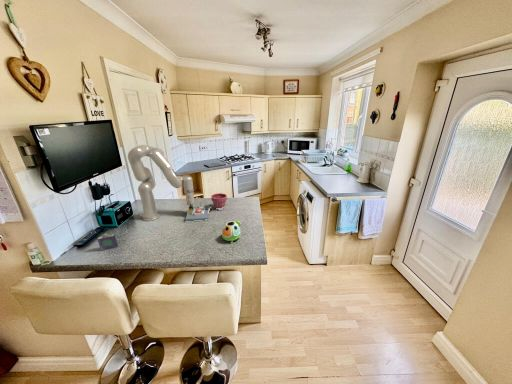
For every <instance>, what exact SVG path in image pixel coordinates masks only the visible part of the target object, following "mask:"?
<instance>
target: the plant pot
mask: <svg viewBox="0 0 512 384" xmlns="http://www.w3.org/2000/svg"><path fill="white" fill-rule="evenodd" d="M210 197H211V199H210V200H211V201H212V204H213V206H214V209H215V208H222V207H224V206H225V207H226V202H227V200H228V195H227V194H225V193H221V192H220V193H218V192H217V193H214V194H212V195H210Z"/></svg>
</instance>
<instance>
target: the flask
mask: <svg viewBox="0 0 512 384" xmlns="http://www.w3.org/2000/svg"><path fill="white" fill-rule="evenodd" d="M97 242H98V246H99V249H100V251H101V252H102V251H107V250H111V249H115V248H118V246H119V245H118V242H117V239H116V236H115V234H107V232H106V233H104V234H103V236H100V237H97Z"/></svg>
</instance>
